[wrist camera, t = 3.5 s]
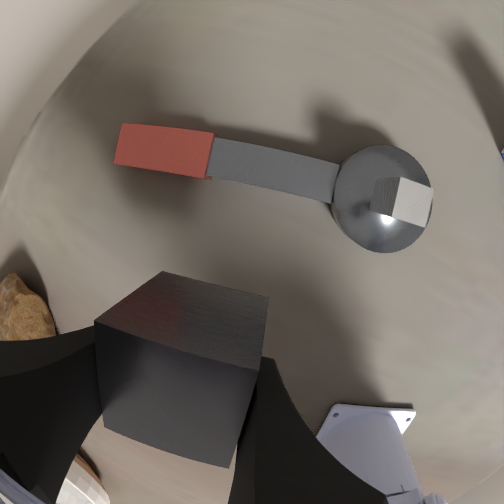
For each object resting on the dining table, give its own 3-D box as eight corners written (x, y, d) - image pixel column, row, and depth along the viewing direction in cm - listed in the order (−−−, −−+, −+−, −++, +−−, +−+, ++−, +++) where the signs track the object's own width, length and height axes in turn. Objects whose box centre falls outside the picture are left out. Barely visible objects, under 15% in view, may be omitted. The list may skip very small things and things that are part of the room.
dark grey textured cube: (246, 383, 12) (228, 468, 7) (154, 358, 12) (104, 427, 8) (268, 297, 11) (259, 370, 6) (162, 270, 12) (93, 320, 7)
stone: (-41, 344, 18) (-37, 237, 15) (7, 334, 26) (29, 238, 23) (13, 452, 15) (16, 378, 12) (65, 427, 22) (100, 349, 19)
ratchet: (123, 190, 18) (71, 193, 13) (141, 104, 17) (96, 80, 11) (404, 255, 17) (445, 281, 12) (425, 166, 16) (473, 161, 10)
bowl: (3, 385, 26) (-22, 406, 20) (112, 452, 25) (90, 487, 19) (36, 458, 30) (20, 477, 24) (128, 509, 29) (115, 534, 23)
